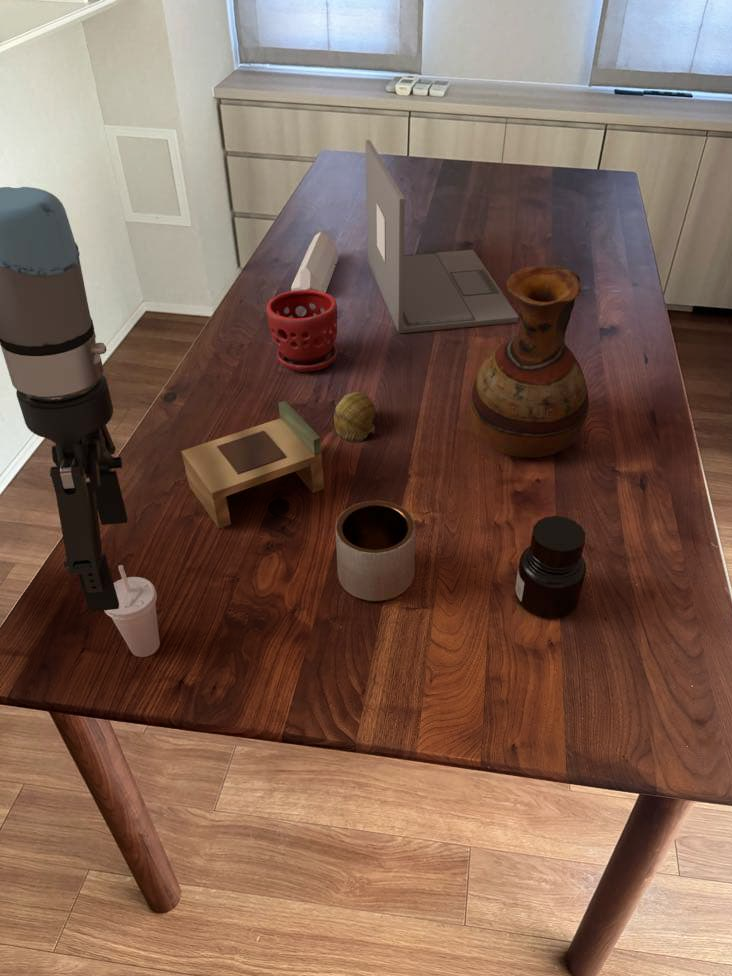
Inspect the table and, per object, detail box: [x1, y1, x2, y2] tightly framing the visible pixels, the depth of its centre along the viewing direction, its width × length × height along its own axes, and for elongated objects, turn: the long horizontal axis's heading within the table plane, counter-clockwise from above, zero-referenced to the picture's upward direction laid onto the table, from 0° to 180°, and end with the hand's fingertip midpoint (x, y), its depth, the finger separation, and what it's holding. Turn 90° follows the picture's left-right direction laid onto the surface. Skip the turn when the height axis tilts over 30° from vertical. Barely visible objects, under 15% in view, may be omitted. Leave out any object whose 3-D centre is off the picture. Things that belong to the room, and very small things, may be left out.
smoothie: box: [104, 564, 161, 658], centre depth 98 cm, size 6×6×14 cm
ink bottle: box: [514, 515, 587, 620], centre depth 106 cm, size 10×9×12 cm
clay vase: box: [470, 263, 590, 458], centre depth 128 cm, size 20×20×30 cm
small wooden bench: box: [181, 400, 325, 530], centre depth 123 cm, size 18×12×10 cm, turn 123°
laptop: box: [365, 139, 520, 334], centre depth 169 cm, size 35×26×27 cm
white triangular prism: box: [290, 230, 339, 293], centre depth 180 cm, size 7×7×24 cm
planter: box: [334, 500, 416, 602], centre depth 109 cm, size 11×11×10 cm
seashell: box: [333, 391, 376, 443], centre depth 138 cm, size 10×7×8 cm
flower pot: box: [266, 290, 338, 373], centre depth 152 cm, size 13×13×12 cm
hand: (110, 562), depth 83 cm, fingers open, 13 cm apart
